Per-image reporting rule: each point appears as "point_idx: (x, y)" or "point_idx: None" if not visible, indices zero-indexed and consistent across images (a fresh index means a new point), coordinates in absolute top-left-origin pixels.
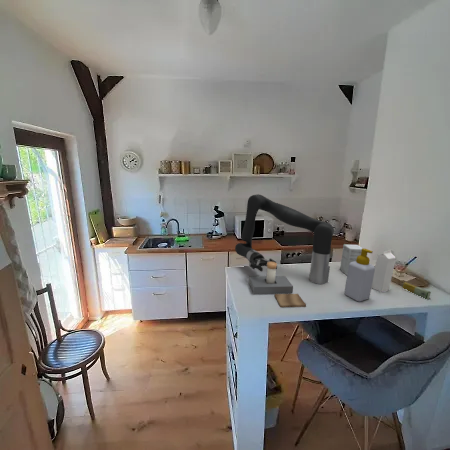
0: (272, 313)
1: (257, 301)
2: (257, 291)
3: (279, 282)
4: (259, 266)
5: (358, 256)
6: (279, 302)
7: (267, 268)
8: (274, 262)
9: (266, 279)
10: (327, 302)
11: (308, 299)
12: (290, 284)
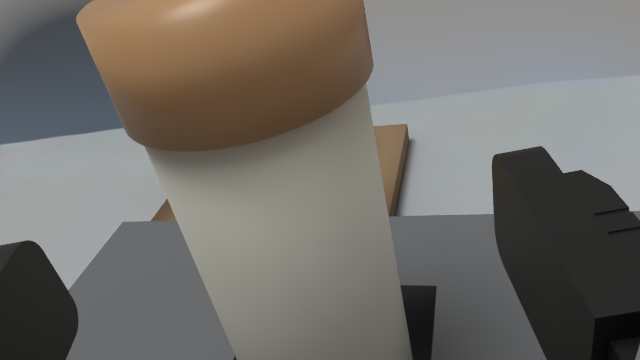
0: (501, 97)
1: (617, 192)
2: None
3: (206, 309)
4: (599, 232)
5: None
6: (399, 147)
7: (368, 108)
8: (101, 11)
9: (405, 344)
10: (30, 188)
11: (112, 215)
12: (110, 256)
